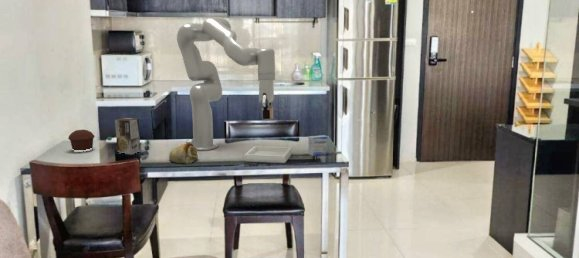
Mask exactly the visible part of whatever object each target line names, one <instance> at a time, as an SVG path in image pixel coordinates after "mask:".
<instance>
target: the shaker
mask: <svg viewBox="0 0 579 258" xmlns="http://www.w3.org/2000/svg"><path fill="white" fill-rule="evenodd" d="M269 110H270V119H263V114H262V113H261V118H262V119H261V120H265V121H266V120H267V121H269V120H274V107H273V104H272V105H269Z"/></svg>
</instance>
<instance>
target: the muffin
mask: <svg viewBox="0 0 579 258" xmlns="http://www.w3.org/2000/svg"><path fill="white" fill-rule="evenodd" d="M95 137H96V136H95V134H94V133H93V132H91V131H90V130H88V129H76V130H74V131H72V132H71V133H70V134H69V135H68V138H67V139H68V141H70V146H71V149H74V150H86V149H90V148H92V149H93V148H94V147H93V145H94V139H95Z"/></svg>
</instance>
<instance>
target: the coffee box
mask: <svg viewBox="0 0 579 258" xmlns="http://www.w3.org/2000/svg"><path fill="white" fill-rule="evenodd" d="M114 124H115V139H116V153H117V152H119V153H118V154H121V153H125V154H124V155H135V153H136V154H138V153H137V152H140V153H141V140H140V139H141V138H140V136H141V135H140V120H139V118H135V117H134V118H132V117H121V118H118V119H114Z"/></svg>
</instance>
